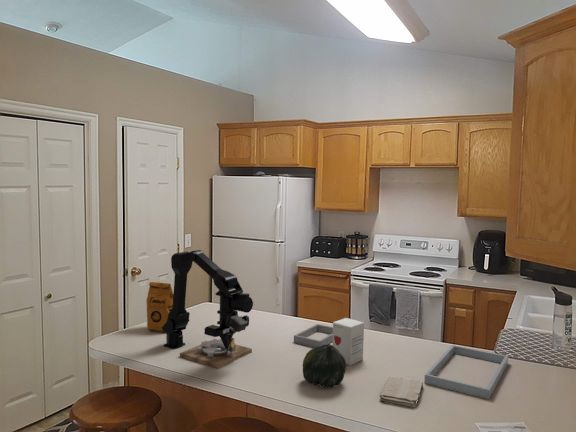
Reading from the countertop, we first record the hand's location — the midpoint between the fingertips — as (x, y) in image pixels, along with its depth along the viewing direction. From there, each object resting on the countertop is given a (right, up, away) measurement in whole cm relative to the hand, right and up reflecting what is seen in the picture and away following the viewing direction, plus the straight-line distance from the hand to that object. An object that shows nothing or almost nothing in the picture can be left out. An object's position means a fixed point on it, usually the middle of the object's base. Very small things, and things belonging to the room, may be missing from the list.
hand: (226, 348), depth 181 cm
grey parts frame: (+37, -3, +28) cm, 46 cm away
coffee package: (-35, -2, +38) cm, 51 cm away
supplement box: (+46, -6, +4) cm, 47 cm away
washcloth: (+61, -9, -24) cm, 66 cm away
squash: (+36, -7, -17) cm, 40 cm away
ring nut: (-5, -3, +8) cm, 10 cm away
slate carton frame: (+89, -7, -7) cm, 90 cm away
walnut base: (-5, -5, +8) cm, 10 cm away
